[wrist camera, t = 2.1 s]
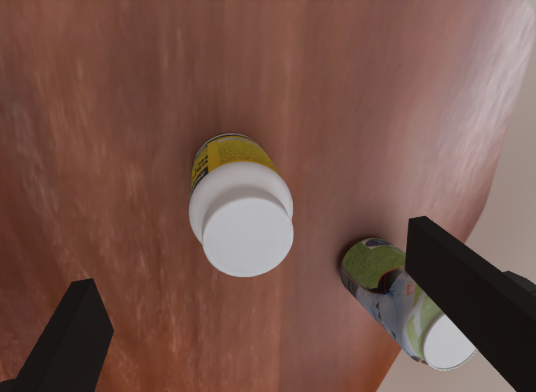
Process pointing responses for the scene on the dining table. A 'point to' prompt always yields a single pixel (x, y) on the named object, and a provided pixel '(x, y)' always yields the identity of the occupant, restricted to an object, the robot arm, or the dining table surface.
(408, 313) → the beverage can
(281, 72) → the dining table surface
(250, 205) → the pill bottle
